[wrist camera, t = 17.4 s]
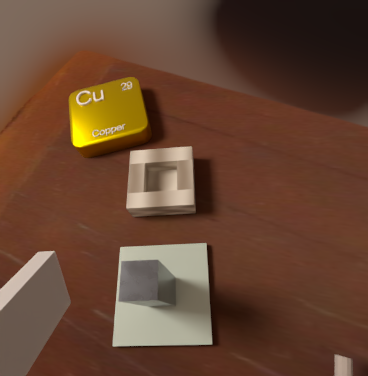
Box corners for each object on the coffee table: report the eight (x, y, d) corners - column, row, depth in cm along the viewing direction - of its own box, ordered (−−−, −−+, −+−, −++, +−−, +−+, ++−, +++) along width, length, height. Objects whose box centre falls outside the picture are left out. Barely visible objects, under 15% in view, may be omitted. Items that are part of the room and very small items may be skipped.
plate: (206, 244, 44) (206, 243, 43) (212, 343, 38) (212, 344, 37) (122, 248, 45) (120, 247, 44) (114, 345, 39) (112, 346, 38)
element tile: (81, 161, 54) (69, 148, 50) (76, 106, 61) (66, 90, 57) (154, 142, 54) (148, 127, 50) (141, 89, 61) (136, 72, 57)
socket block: (193, 158, 51) (191, 146, 48) (195, 213, 47) (194, 204, 43) (136, 162, 52) (130, 151, 49) (133, 216, 48) (126, 208, 44)
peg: (175, 277, 41) (158, 259, 29) (175, 306, 40) (157, 300, 27) (149, 278, 42) (121, 261, 29) (148, 306, 40) (118, 301, 27)
